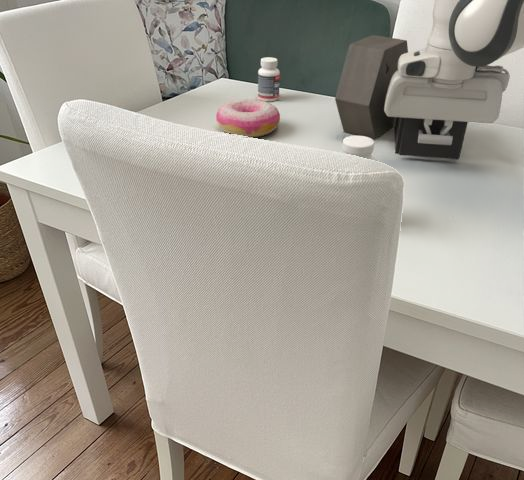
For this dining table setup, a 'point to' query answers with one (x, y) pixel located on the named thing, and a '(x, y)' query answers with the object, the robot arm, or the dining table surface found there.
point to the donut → (248, 117)
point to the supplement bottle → (359, 146)
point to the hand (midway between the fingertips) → (433, 142)
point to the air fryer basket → (431, 139)
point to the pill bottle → (268, 80)
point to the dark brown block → (368, 85)
